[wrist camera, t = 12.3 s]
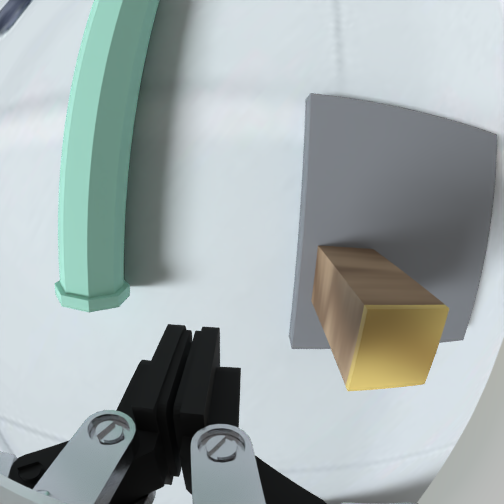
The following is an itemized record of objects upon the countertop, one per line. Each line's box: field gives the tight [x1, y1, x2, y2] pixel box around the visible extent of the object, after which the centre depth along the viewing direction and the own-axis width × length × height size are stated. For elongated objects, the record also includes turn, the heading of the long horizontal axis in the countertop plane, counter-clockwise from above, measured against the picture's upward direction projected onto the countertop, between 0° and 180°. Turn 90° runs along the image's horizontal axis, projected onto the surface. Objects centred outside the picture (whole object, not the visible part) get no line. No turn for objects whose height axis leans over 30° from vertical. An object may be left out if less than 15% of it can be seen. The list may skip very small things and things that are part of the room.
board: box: [289, 93, 497, 349], centre depth 22 cm, size 18×16×2 cm
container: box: [55, 0, 159, 312], centre depth 19 cm, size 6×6×25 cm
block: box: [311, 246, 449, 391], centre depth 17 cm, size 4×4×10 cm
